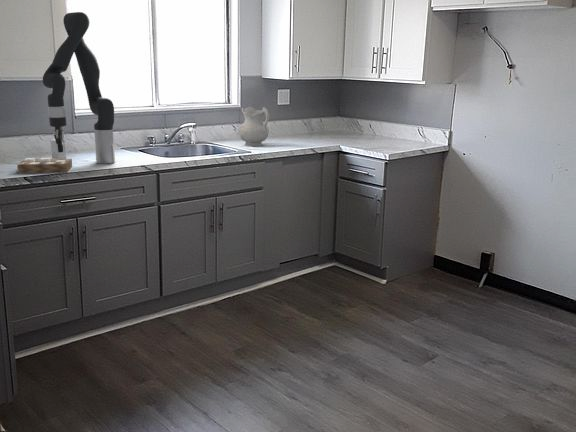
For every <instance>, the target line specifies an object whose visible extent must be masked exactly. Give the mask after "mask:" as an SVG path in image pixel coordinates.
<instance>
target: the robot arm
mask: <svg viewBox="0 0 576 432" xmlns="http://www.w3.org/2000/svg"><path fill="white" fill-rule="evenodd" d="M90 23H91V22H90V18H89V16H88V15H87V14H86V13H84V12H81V11H77V12H68V13H65V15H64V16H63V26H64V30H65V32H66V33H67V38H66V39H65V40H64V41H63V42H62V44H61V45H60V46H59V47H58V49H57V51H56V53H55V55H54V58H53V59H52V62H51V64H50V65H49V66H48V68H47V69H46V70H45V71H44V74H43V75H42V84H43V86H45V87H46V88H48V89H52V92H51V93H49V94H48V95H47V107H48V111H47V112H48V120H49V122H48V123H49V127H51V128H52V127H54V130H53V138H54V140H55V141H56V144H57V145H58V152H63V142H64V139H65V137H64V133H65V131H64V129H63V127H65V126H67V124H68V123H67V117H66V116H67V114H66V109H65V102H64V95H65V89H66V79H65V77H64V75H62V73H65V72H66V71H67V70H68V67H69V65H70V63H71V60H72V58H73V55H75V59H76V61H77V66H78V68H79V72H80V74H81V78H82V80H83V83H84V88H85V91H86V95H87V96H86V97H87V101H88V105H89V109H90V111H91V113H92V114H93V115H95V116H97V121H96V122H95V123H94V124H93V128H94V133H93V134H94V147H95V148H94V149H95V163H97V164H114V163H115V162H116V158H115V157H116V153H115V142H114V124H115V107H114V103H113V100H111V99H109V98H107V97H103V96H102V93H101V89H100V86H99V85H100V74H101V71H100V67H99V63H98V60H97V57H96V55H95V54H94V52H93V51H92V49H90V47H89V46H88V44H87V43H86V41H85V38H84V36H85V34H86V32H87V31H88V30H89V27H90Z"/></svg>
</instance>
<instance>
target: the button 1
mask: <svg viewBox="0 0 576 432" xmlns="http://www.w3.org/2000/svg"><path fill="white" fill-rule="evenodd" d="M35 159H36V157H25V159H24V158H23V160H24V161H25V162H35Z"/></svg>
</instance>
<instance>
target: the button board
mask: <svg viewBox="0 0 576 432" xmlns="http://www.w3.org/2000/svg"><path fill="white" fill-rule="evenodd" d="M40 159H41V158H35V162H25V161H24V159H23V160H22V161H20V162H19V163H18V164H16V165H17V173H18V174H43V173H44V174H46V173H47V174H49V173H50V174H51V173H54V174H55V173H56V174H57V173H61V174H62V173H68V172H69V171H71V169H72V167H73V160H72V159H73V158H66V159H52V158H50V162H40ZM57 160H66V161H65V162H56V161H57Z"/></svg>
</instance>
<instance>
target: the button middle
mask: <svg viewBox="0 0 576 432" xmlns="http://www.w3.org/2000/svg"><path fill="white" fill-rule="evenodd" d="M39 159H40V162H50V159H51V157H41V158H39Z"/></svg>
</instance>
